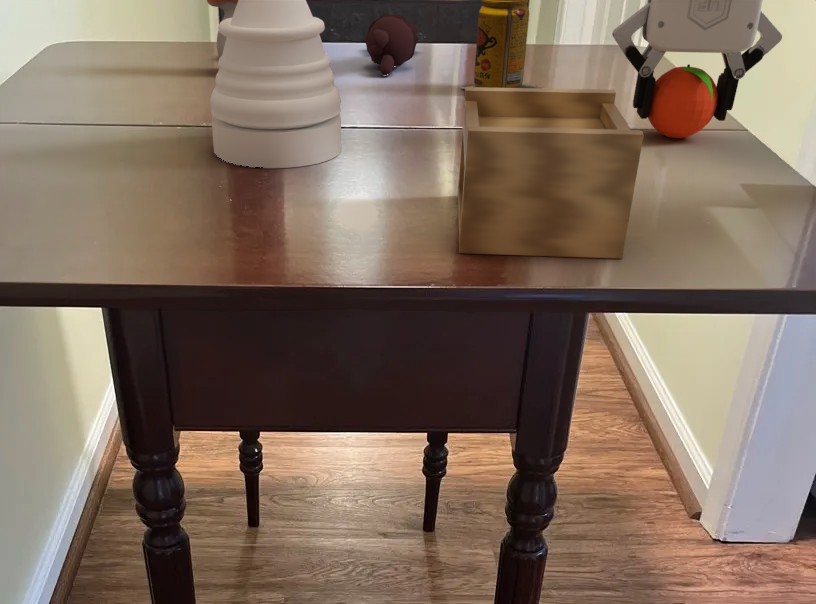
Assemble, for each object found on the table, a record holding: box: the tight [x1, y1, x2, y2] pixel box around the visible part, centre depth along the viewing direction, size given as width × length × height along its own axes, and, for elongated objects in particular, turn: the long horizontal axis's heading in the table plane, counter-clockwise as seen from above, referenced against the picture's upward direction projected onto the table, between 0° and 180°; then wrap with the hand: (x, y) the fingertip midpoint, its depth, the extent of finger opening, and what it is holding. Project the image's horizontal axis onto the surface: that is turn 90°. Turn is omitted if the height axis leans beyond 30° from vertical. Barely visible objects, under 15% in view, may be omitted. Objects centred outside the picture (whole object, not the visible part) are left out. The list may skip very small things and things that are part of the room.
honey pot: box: [209, 0, 342, 169], centre depth 88 cm, size 13×13×18 cm
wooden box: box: [457, 86, 645, 260], centre depth 72 cm, size 12×14×9 cm
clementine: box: [647, 64, 718, 139], centre depth 94 cm, size 8×7×7 cm
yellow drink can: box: [458, 0, 547, 90], centre depth 113 cm, size 7×8×12 cm
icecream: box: [364, 13, 419, 76], centre depth 126 cm, size 7×7×15 cm
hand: (680, 115), depth 95 cm, fingers closed on clementine, 7 cm apart
